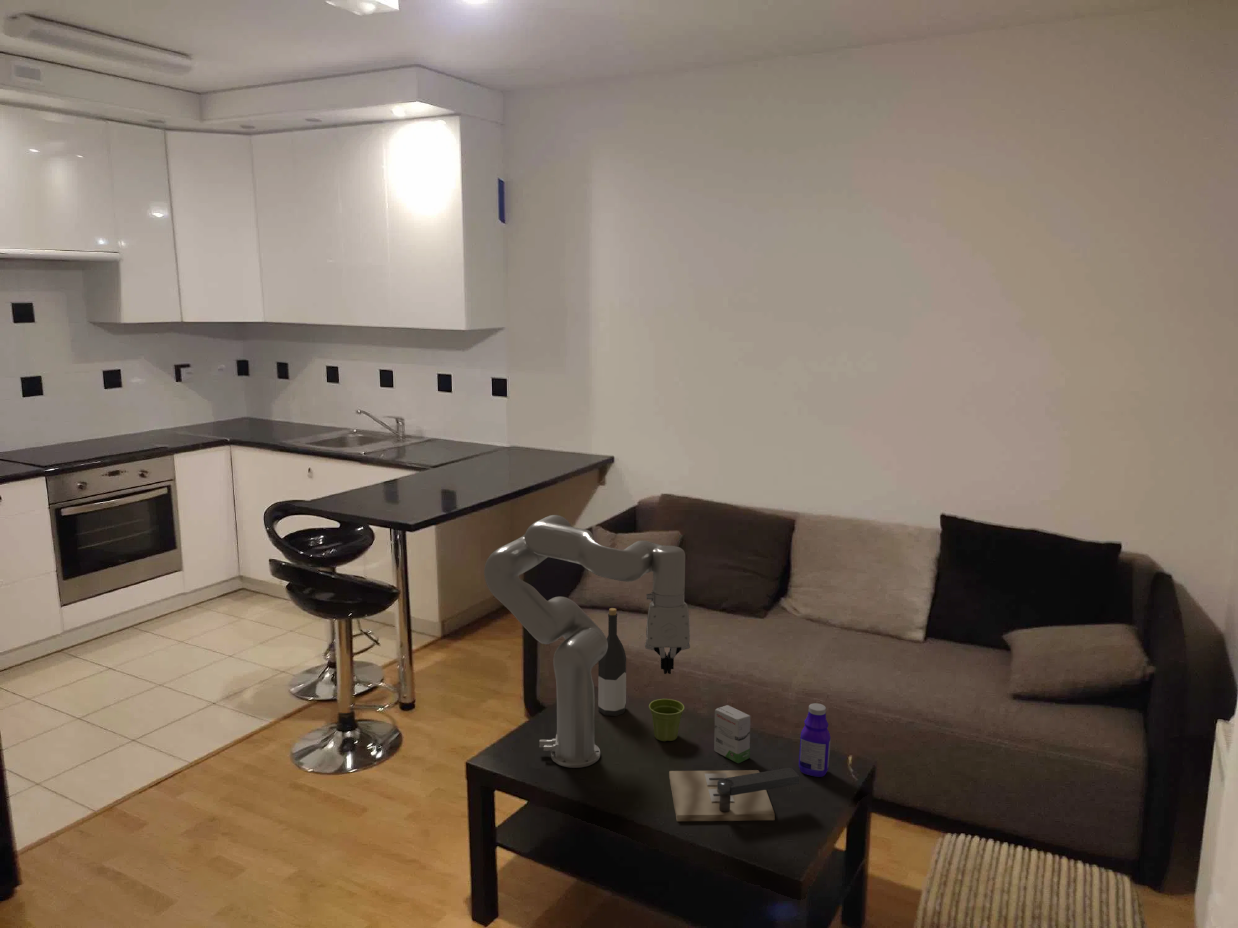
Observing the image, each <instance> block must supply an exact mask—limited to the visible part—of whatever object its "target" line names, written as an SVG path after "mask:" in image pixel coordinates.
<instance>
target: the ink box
mask: <svg viewBox="0 0 1238 928" xmlns="http://www.w3.org/2000/svg"><path fill="white" fill-rule="evenodd" d="M713 743H714V745H713V746H714V749H713V751H714V752H715V753H717V754H718V755H721V756H723V757H725V758H726V759H729V760H731V761H732V762H734V763H736V764H740V763H742V762H744V761H746V760H748V759H750V757H751V756H750V755H751V751H750V750H751V748H750V747H751V715H750V714H747V713H746V712H744V711H741V710H739V709H736V708H735V707H733V706H731V705H729V704H726V705H724V706H720V707H717V708H716V709H714V742H713Z"/></svg>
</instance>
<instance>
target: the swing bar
mask: <svg viewBox="0 0 1238 928" xmlns="http://www.w3.org/2000/svg"><path fill="white" fill-rule="evenodd" d="M759 772H760V771H759ZM799 784H800V775H799V774H798V773H797V772H796V771H795V770H794V769H793V767H791V766H790V767H785V768H784V767H783V768H779V769H773V770H767V771H766V770H765V771H761V772H760V773H753V774H747V775H741V776H735V777H729V778H724V779H721V780H719V781H718V782H717V792H718V793H719V794H720V795H724V796H729V795H731V796H732V795H738V794H744V793H749V792H755V791H761V790H766V791H767V790H773V789H778V788H784V787H789V786H795V785H799Z"/></svg>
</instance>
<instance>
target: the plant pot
mask: <svg viewBox="0 0 1238 928" xmlns="http://www.w3.org/2000/svg"><path fill="white" fill-rule="evenodd" d="M648 709H649V711H650V713H651V717H652V725H653V727H652V728H653V734H654V738H655V739H656V740H658V741H661V742H667V741H669V742H672V741H675V740H676V739H677V738H678V735H679V734H678V733H679V728H680V723H681V720H682V719H681V718H682V715H683V713H684V711H685V705H684V704H683V703H682V702H681V701H679V700H675V699H672V698H660V699H659V698H658V699H654V700H652V701H651V702H650V703H649V704H648Z"/></svg>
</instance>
